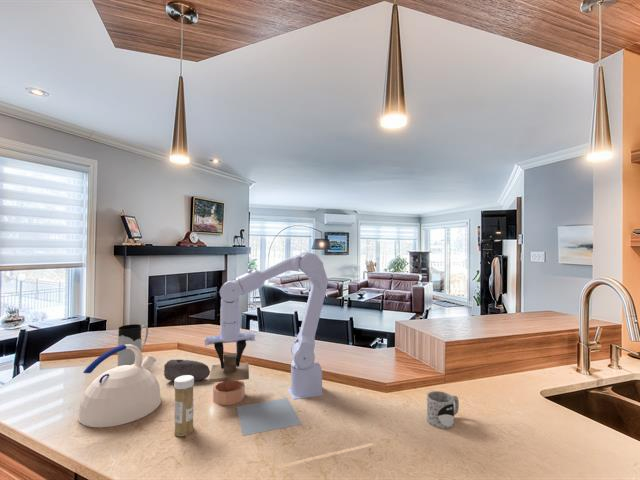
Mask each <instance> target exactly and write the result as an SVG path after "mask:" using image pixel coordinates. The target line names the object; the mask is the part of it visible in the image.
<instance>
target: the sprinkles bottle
mask: <svg viewBox="0 0 640 480" xmlns="http://www.w3.org/2000/svg"><path fill="white" fill-rule="evenodd" d="M173 384H174V385H173V387H174V430H173V431H174V435H175V436H177V437H180V438H182V437H186V436H187V435H189V434H191V433H192V432H193V431H194V430H195V429H194V428H195V427H194V386H195V381H194V377H193V376H191V375H183V376H179V377H177V378H176V379H175V380H174V381H173Z"/></svg>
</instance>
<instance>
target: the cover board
mask: <svg viewBox="0 0 640 480" xmlns="http://www.w3.org/2000/svg"><path fill="white" fill-rule="evenodd" d="M236 355H237V352H234V353H233V352H232V353H223V361H224V369H221V363H220V364H212V365H211V370H210V374H209V376H208V377H209V378H208V383H209V384H212V383H218V382H224V381H235V380H240V381H246V380H249V379H250V373H249V372H250V369H249V366H250V365H249V362H240V364H239V367H237V366H236Z"/></svg>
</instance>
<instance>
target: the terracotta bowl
mask: <svg viewBox="0 0 640 480" xmlns="http://www.w3.org/2000/svg"><path fill="white" fill-rule="evenodd" d="M245 389H246V388H245V382H244V381H243V380H235V381H224V382H215V384H214V385H213V386H212V401H213V403H214V404H216V405H218V406H219V405H220V406H230V405H235V404H237V403H240V402H241V401H243V400H244V398H245V397H246V395H245V391H246V390H245Z"/></svg>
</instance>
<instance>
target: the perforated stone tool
mask: <svg viewBox="0 0 640 480" xmlns="http://www.w3.org/2000/svg"><path fill="white" fill-rule="evenodd" d="M163 367H164V368H163V372H164V373H163V376H164V378H165V380H168V381H173V382H174V380H175V379H176V378H177V377H179V376H183V375H191V376H193V377H194V382H195V381H202V380H206V379H207V378H208V377H210V373H211V370H210V368H209V366H208V365H207V364H205V363H203V362H201V361H197V360H191V359H190V360H189V359H169V360H168V361H167V362H166V363H165V364H164V365H163Z"/></svg>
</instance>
